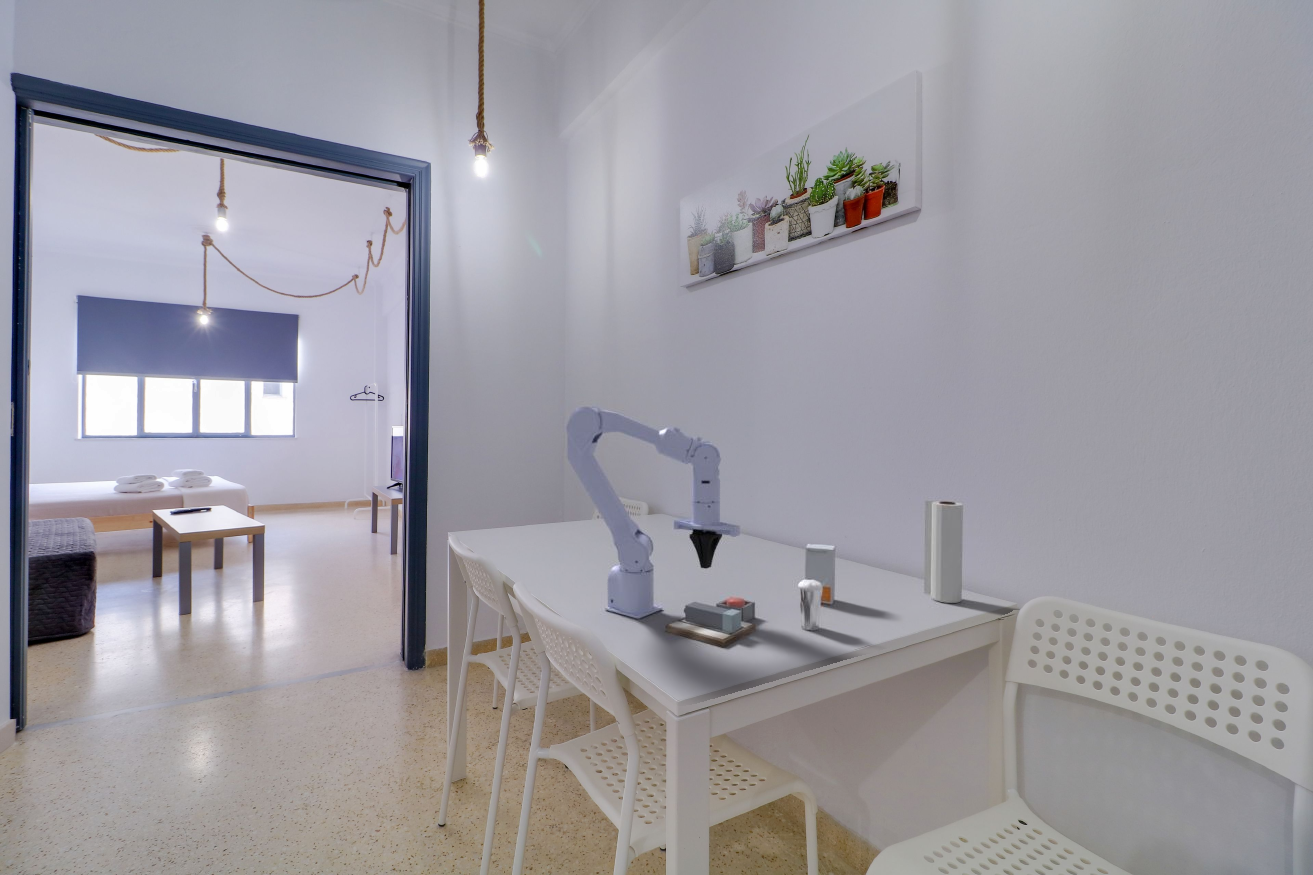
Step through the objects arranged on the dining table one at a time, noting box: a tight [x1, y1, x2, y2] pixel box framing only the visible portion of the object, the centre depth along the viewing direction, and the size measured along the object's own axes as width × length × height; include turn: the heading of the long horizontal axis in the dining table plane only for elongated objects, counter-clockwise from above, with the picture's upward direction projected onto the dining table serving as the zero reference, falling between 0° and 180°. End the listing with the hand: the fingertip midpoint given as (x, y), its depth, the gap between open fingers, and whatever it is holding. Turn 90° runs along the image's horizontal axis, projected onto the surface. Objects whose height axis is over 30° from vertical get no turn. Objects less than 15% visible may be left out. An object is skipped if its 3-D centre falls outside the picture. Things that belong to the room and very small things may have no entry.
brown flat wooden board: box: [664, 616, 756, 649], centre depth 114 cm, size 13×11×1 cm
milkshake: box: [797, 578, 827, 632], centre depth 114 cm, size 4×5×10 cm
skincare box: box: [804, 543, 837, 605], centre depth 131 cm, size 6×4×12 cm
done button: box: [726, 597, 746, 608], centre depth 121 cm, size 4×4×3 cm
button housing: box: [715, 596, 756, 623], centre depth 121 cm, size 6×6×3 cm
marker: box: [683, 601, 741, 633], centre depth 114 cm, size 12×3×3 cm, turn 51°
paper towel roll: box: [923, 500, 964, 604], centre depth 132 cm, size 7×6×21 cm
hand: (705, 567), depth 124 cm, fingers closed
